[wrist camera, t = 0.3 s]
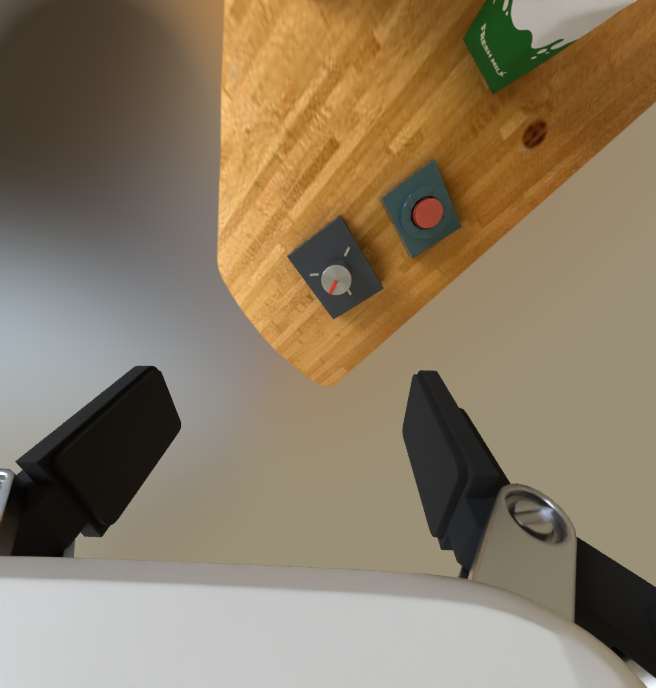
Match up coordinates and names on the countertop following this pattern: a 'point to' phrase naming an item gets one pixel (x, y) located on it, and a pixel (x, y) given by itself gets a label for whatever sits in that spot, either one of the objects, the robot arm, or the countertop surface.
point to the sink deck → (335, 245)
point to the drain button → (427, 213)
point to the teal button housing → (404, 201)
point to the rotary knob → (336, 277)
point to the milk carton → (530, 33)
